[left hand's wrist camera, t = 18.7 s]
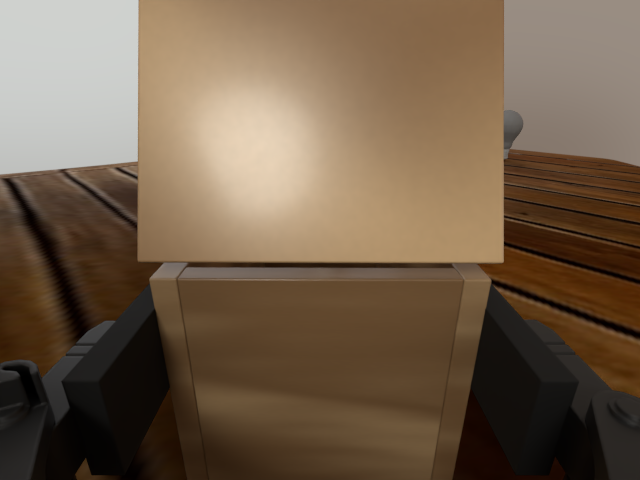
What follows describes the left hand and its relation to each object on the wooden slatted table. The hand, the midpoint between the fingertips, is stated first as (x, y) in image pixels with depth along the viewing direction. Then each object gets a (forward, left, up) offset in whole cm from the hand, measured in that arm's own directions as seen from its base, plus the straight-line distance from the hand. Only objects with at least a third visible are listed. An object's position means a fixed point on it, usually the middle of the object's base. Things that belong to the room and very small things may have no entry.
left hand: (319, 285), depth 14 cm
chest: (-3, +2, -6) cm, 7 cm away
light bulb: (-23, +74, -6) cm, 78 cm away
